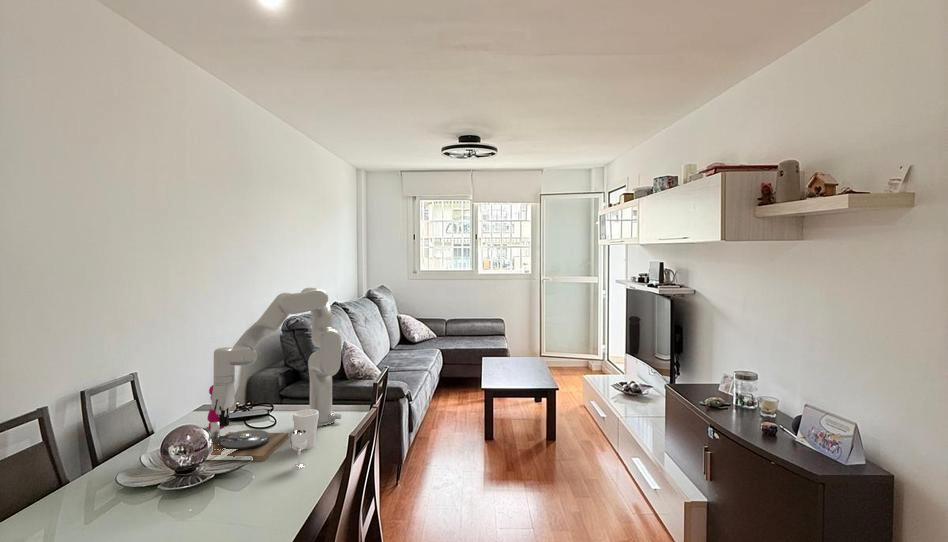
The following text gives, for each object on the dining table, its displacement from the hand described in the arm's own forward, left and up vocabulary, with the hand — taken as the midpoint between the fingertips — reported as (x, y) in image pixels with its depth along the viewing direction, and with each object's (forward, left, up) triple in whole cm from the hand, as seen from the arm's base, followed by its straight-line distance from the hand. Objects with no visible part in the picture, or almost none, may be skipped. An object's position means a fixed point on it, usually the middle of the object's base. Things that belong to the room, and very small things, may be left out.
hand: (224, 425), depth 201 cm
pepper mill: (+11, -17, -7) cm, 22 cm away
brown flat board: (-12, +7, -6) cm, 15 cm away
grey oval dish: (-9, +7, -3) cm, 12 cm away
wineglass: (-38, +23, -7) cm, 44 cm away
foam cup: (-34, +4, -7) cm, 34 cm away
